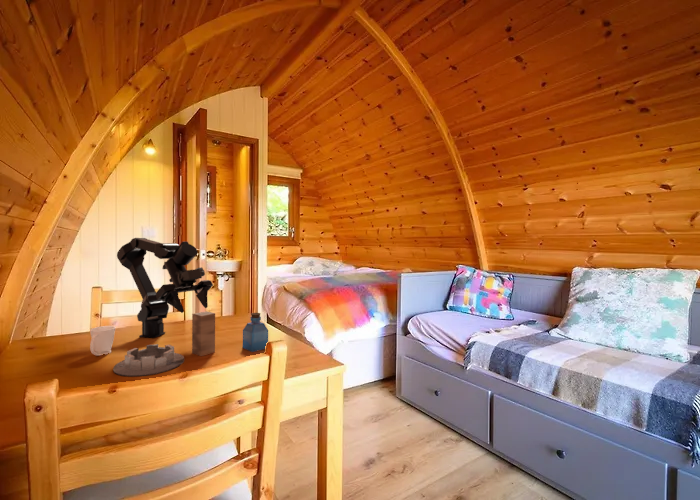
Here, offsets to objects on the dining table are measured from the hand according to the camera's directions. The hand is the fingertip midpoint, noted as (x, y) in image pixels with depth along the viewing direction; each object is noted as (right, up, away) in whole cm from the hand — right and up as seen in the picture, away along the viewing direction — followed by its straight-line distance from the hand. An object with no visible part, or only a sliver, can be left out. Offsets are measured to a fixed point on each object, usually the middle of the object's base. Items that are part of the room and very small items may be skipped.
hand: (195, 309), depth 116 cm
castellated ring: (-6, -13, -17) cm, 22 cm away
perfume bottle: (+21, -13, 0) cm, 25 cm away
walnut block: (+5, -13, -6) cm, 15 cm away
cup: (-26, -13, -9) cm, 30 cm away
